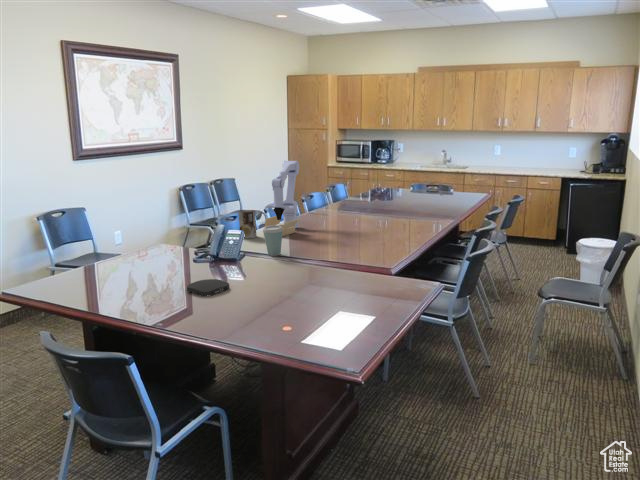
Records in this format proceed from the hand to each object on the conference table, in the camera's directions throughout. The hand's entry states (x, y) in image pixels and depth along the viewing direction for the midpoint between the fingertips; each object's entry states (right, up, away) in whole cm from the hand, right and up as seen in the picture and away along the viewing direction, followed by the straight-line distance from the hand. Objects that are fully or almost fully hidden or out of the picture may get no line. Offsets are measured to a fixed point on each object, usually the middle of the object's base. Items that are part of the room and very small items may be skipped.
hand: (279, 219), depth 327 cm
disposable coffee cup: (+1, -20, -49) cm, 53 cm away
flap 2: (+5, -5, -2) cm, 8 cm away
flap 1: (-5, -4, +4) cm, 8 cm away
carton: (0, -9, +2) cm, 9 cm away
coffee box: (-18, -11, -6) cm, 22 cm away
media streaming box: (-22, -34, -105) cm, 113 cm away
